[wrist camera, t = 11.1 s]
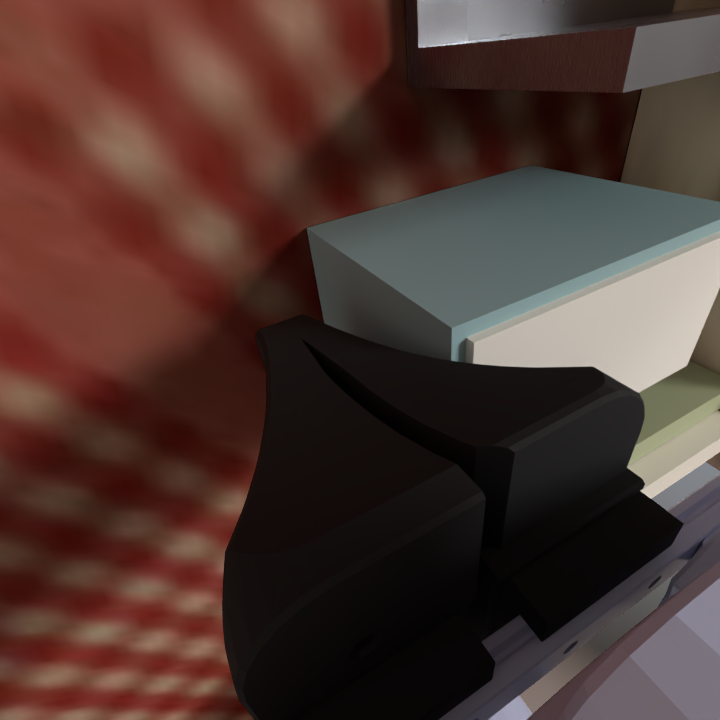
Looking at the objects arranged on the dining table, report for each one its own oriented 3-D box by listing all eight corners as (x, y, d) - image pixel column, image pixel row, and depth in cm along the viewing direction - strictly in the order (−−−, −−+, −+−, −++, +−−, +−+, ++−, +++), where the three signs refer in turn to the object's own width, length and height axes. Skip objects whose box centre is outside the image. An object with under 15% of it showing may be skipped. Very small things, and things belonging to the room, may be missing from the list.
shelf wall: (584, 373, 23) (733, 462, 17) (573, 379, 22) (720, 471, 17) (713, -137, 12) (1192, -303, 7) (695, -137, 12) (1179, -311, 6)
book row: (575, 367, 22) (727, 457, 17) (420, 442, 19) (546, 582, 14) (587, 312, 20) (764, 395, 15) (418, 387, 17) (563, 524, 12)
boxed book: (517, 286, 17) (689, 370, 12) (331, 359, 14) (454, 503, 9) (531, 165, 14) (759, 209, 9) (306, 227, 12) (459, 333, 7)
